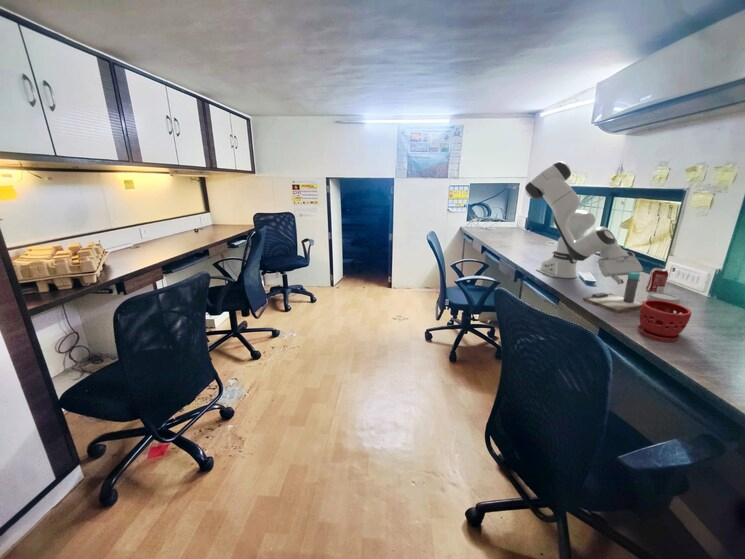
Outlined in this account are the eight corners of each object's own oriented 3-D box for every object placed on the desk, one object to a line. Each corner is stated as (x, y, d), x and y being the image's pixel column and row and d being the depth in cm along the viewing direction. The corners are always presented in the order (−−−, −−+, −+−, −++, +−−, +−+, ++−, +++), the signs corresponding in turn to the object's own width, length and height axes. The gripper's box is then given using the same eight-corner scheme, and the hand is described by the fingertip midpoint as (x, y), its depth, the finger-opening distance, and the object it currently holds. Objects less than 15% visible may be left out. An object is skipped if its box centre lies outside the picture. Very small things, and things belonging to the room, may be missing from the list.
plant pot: (626, 331, 118) (634, 302, 114) (648, 326, 122) (657, 297, 119) (667, 347, 106) (677, 315, 103) (690, 341, 110) (701, 310, 107)
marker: (620, 300, 145) (626, 272, 141) (626, 299, 146) (632, 271, 142) (630, 303, 141) (636, 274, 137) (636, 302, 142) (642, 273, 138)
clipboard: (582, 300, 149) (583, 295, 148) (610, 295, 155) (611, 291, 154) (617, 313, 134) (618, 307, 134) (646, 307, 140) (647, 302, 140)
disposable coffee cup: (633, 318, 129) (641, 291, 125) (657, 319, 128) (665, 291, 125) (652, 329, 120) (661, 300, 116) (678, 329, 119) (687, 300, 116)
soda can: (666, 294, 156) (673, 271, 153) (650, 293, 158) (657, 270, 154) (657, 289, 163) (663, 267, 159) (642, 289, 164) (648, 267, 160)
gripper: (601, 255, 144) (617, 281, 138) (636, 252, 149) (652, 278, 143) (591, 262, 150) (605, 287, 144) (625, 259, 154) (640, 284, 148)
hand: (629, 282), depth 143 cm, fingers open, 8 cm apart
